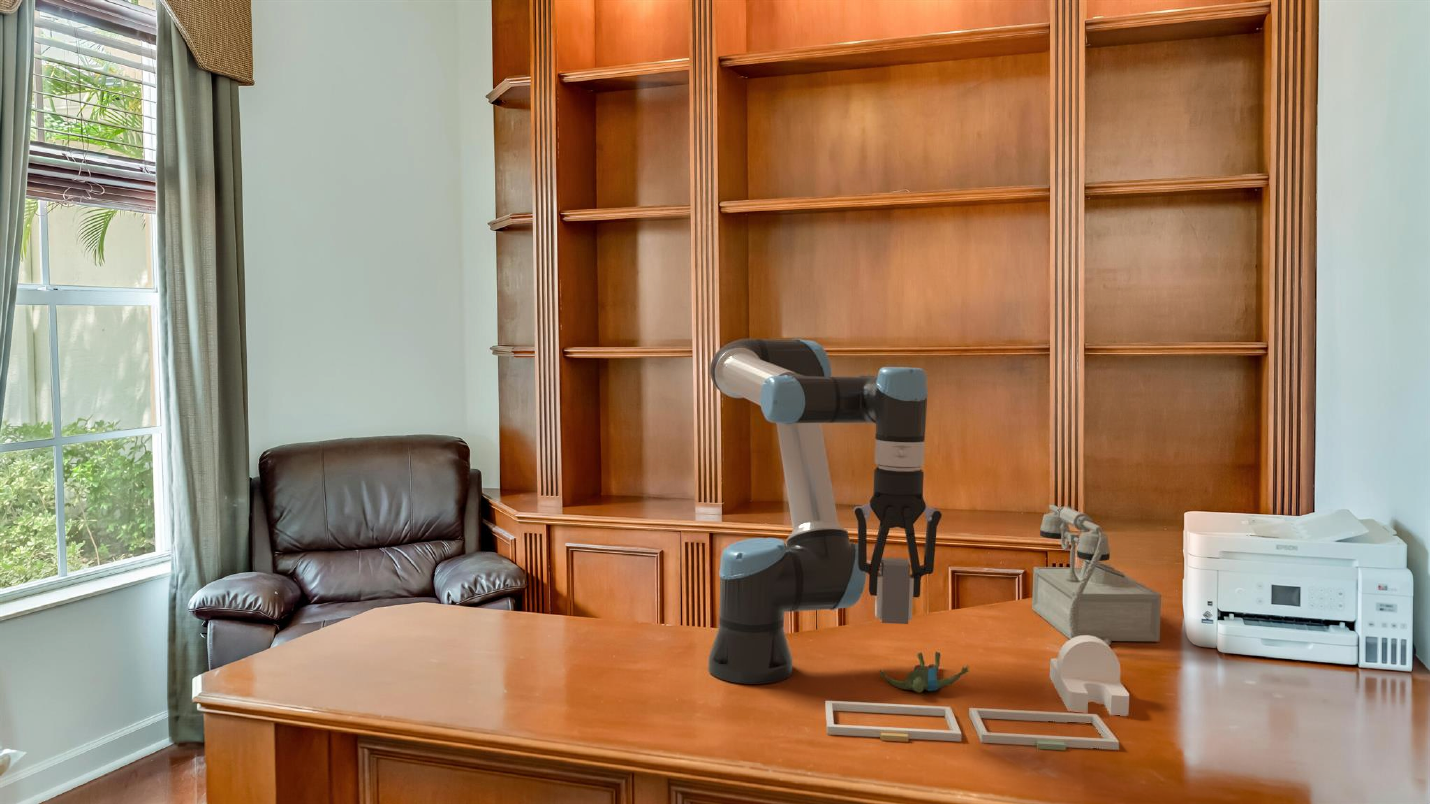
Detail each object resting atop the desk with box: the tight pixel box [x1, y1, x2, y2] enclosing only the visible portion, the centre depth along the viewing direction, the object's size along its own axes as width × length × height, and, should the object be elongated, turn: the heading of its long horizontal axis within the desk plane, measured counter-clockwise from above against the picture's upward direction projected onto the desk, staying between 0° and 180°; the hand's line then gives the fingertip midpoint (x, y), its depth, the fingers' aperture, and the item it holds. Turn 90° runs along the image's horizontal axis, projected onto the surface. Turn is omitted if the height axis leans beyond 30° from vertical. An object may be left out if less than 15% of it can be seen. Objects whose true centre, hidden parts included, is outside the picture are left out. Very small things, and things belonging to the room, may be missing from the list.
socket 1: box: [824, 700, 962, 742], centre depth 156 cm, size 20×12×1 cm, turn 85°
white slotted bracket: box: [1049, 635, 1130, 717], centre depth 171 cm, size 10×18×10 cm, turn 171°
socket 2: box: [968, 707, 1120, 751], centre depth 154 cm, size 20×12×1 cm, turn 85°
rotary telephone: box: [1031, 504, 1162, 646], centre depth 211 cm, size 32×20×25 cm, turn 1°
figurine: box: [879, 651, 970, 694], centre depth 176 cm, size 16×4×18 cm
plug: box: [879, 557, 911, 625], centre depth 156 cm, size 4×6×9 cm
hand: (893, 616), depth 156 cm, fingers closed on plug, 4 cm apart
